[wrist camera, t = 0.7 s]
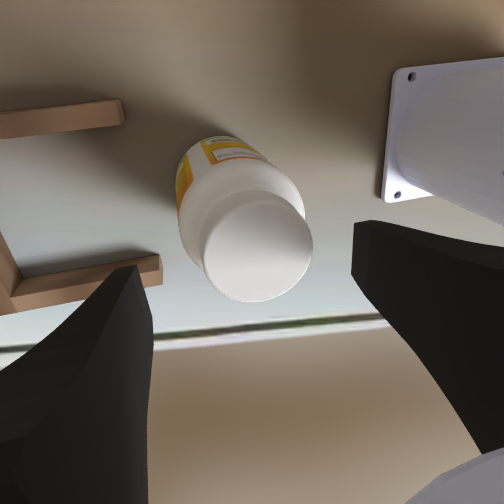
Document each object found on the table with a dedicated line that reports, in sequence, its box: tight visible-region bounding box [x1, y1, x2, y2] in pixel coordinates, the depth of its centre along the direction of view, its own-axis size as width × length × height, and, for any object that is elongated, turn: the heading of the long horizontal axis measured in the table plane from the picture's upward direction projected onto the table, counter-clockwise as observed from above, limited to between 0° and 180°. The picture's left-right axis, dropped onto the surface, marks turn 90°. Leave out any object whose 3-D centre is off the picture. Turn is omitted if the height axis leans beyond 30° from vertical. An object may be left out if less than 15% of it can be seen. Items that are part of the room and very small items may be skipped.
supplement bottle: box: [175, 136, 313, 302], centre depth 16 cm, size 5×5×10 cm
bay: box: [0, 99, 163, 316], centre depth 18 cm, size 9×10×2 cm
